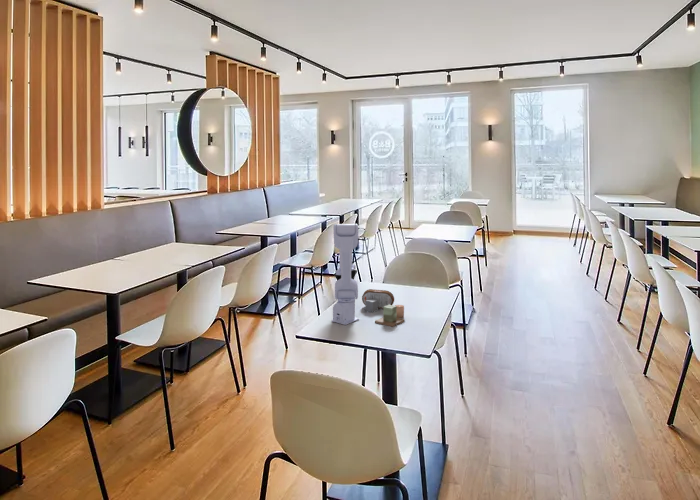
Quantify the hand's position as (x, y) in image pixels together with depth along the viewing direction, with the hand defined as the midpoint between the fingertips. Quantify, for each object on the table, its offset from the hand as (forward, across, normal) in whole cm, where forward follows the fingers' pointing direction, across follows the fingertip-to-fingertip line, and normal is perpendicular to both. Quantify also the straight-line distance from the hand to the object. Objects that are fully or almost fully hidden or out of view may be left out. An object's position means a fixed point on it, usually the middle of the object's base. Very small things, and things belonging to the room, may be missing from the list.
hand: (346, 287), depth 219 cm
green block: (+10, -7, -25) cm, 28 cm away
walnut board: (+10, -7, -25) cm, 28 cm away
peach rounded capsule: (+10, +1, -26) cm, 28 cm away
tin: (+11, +9, -12) cm, 18 cm away
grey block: (+10, +4, -11) cm, 16 cm away
